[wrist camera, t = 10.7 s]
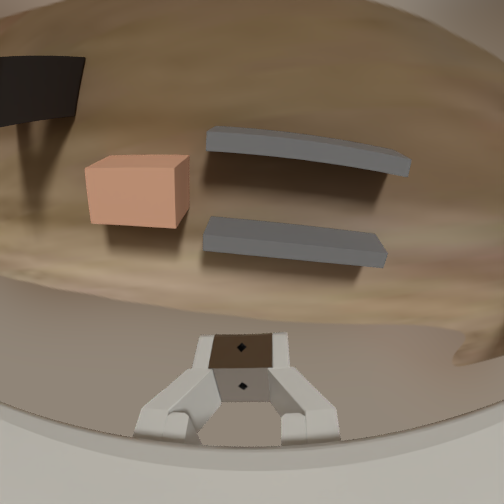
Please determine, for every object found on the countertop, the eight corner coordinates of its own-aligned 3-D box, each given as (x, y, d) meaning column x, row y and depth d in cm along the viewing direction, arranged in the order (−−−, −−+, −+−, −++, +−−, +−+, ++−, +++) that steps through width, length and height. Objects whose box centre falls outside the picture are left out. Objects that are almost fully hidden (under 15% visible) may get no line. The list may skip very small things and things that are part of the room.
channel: (393, 150, 25) (411, 159, 22) (371, 247, 30) (383, 267, 27) (215, 126, 25) (206, 131, 22) (210, 230, 30) (202, 250, 27)
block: (189, 155, 27) (174, 168, 23) (189, 206, 29) (175, 228, 25) (110, 155, 27) (84, 168, 23) (114, 203, 29) (91, 223, 25)
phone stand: (16, 109, 24) (-65, 133, 14) (24, 57, 21) (-59, 64, 11) (75, 116, 25) (-11, 141, 14) (86, 57, 22) (-1, 55, 12)
